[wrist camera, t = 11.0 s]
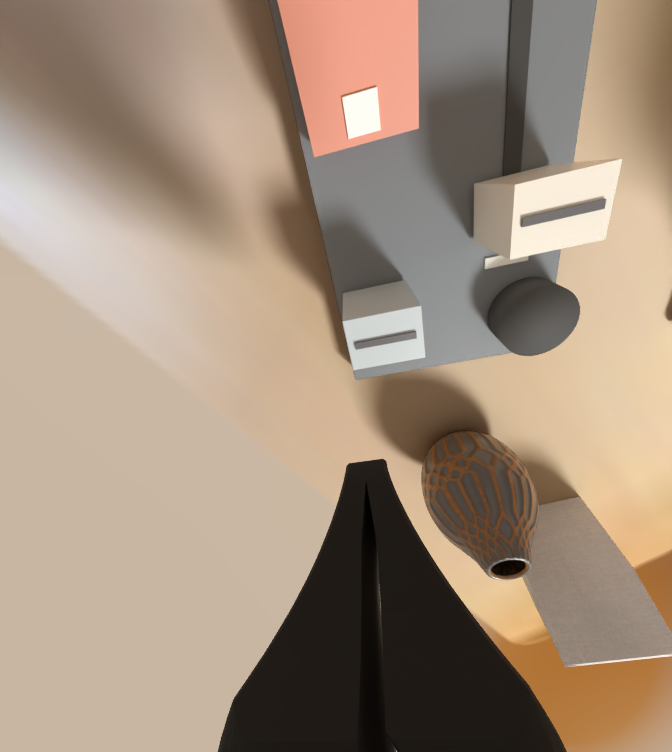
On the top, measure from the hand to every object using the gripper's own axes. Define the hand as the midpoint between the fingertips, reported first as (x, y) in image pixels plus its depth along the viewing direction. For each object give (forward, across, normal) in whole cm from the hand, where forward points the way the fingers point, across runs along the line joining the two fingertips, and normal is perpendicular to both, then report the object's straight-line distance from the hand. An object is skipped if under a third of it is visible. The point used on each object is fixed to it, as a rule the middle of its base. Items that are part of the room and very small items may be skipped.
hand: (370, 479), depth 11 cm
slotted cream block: (+8, -8, -7) cm, 13 cm away
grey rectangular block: (+10, -13, +20) cm, 26 cm away
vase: (+10, -6, +10) cm, 15 cm away
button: (+8, -9, -2) cm, 12 cm away
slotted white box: (+8, -2, -3) cm, 9 cm away
